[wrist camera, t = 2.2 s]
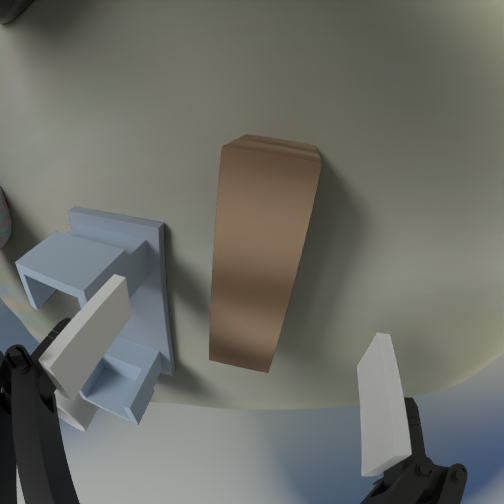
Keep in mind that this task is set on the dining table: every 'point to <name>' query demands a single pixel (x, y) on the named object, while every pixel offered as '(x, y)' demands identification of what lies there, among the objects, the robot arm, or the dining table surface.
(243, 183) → the tapered block
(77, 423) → the mug
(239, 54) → the dining table surface
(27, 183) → the dining table surface
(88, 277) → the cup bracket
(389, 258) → the dining table surface
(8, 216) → the potted plant
